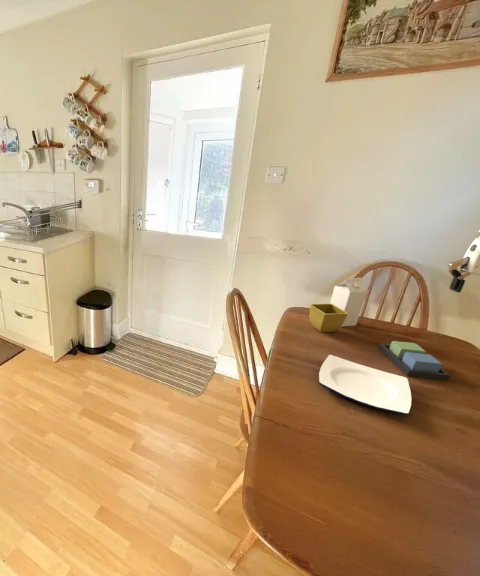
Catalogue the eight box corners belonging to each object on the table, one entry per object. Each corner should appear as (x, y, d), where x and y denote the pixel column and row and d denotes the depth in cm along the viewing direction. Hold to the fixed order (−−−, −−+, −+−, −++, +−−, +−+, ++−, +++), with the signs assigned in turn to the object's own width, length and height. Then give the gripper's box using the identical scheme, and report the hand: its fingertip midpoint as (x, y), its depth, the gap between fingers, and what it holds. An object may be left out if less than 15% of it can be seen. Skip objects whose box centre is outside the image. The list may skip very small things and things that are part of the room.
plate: (408, 385, 91) (411, 377, 90) (409, 426, 77) (413, 418, 76) (324, 358, 104) (326, 352, 103) (312, 390, 90) (314, 382, 89)
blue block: (425, 365, 99) (430, 354, 97) (437, 374, 94) (442, 363, 93) (400, 362, 100) (405, 352, 99) (411, 371, 96) (415, 361, 94)
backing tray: (413, 352, 106) (415, 347, 106) (448, 380, 92) (450, 375, 92) (378, 348, 109) (380, 343, 108) (406, 376, 95) (409, 370, 94)
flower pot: (342, 334, 118) (349, 313, 115) (319, 335, 118) (325, 314, 114) (326, 323, 126) (331, 303, 123) (304, 324, 126) (309, 304, 123)
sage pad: (411, 353, 105) (415, 343, 103) (421, 361, 100) (425, 351, 99) (388, 350, 106) (391, 340, 105) (397, 359, 102) (401, 348, 100)
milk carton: (325, 318, 130) (337, 276, 123) (341, 317, 131) (353, 275, 124) (339, 327, 123) (353, 282, 116) (356, 325, 124) (370, 281, 117)
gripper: (473, 236, 85) (448, 294, 91) (557, 239, 81) (525, 299, 87) (451, 231, 92) (430, 285, 98) (528, 233, 87) (500, 289, 94)
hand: (474, 292), depth 92 cm, fingers open, 9 cm apart
